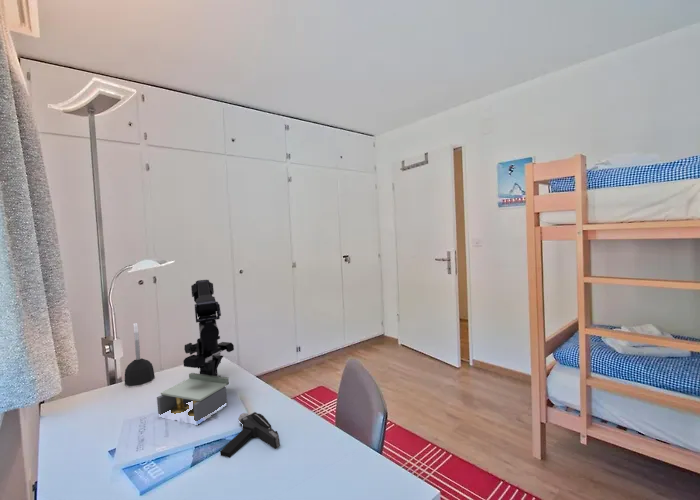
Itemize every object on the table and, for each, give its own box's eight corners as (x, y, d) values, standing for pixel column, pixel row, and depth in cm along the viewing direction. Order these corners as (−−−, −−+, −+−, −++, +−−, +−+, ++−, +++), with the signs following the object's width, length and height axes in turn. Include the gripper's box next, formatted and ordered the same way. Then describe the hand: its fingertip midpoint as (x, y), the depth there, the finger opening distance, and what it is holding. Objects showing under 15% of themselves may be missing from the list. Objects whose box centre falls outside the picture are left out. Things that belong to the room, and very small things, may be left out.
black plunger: (124, 381, 149) (119, 323, 148) (153, 374, 155) (149, 318, 154) (124, 390, 140) (119, 328, 138) (156, 382, 146) (151, 323, 144)
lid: (192, 378, 128) (191, 372, 128) (228, 384, 122) (228, 377, 122) (160, 394, 116) (160, 388, 116) (199, 401, 110) (199, 394, 110)
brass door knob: (181, 407, 121) (179, 389, 121) (193, 409, 119) (191, 391, 119) (167, 415, 116) (165, 396, 116) (179, 418, 114) (178, 398, 114)
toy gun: (232, 461, 88) (283, 430, 97) (202, 426, 103) (250, 403, 113) (235, 478, 88) (286, 445, 98) (205, 441, 104) (252, 416, 114)
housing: (190, 400, 127) (188, 381, 127) (227, 407, 121) (225, 386, 121) (158, 419, 115) (156, 397, 115) (197, 427, 109) (196, 404, 109)
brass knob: (197, 410, 118) (196, 391, 118) (210, 413, 116) (209, 393, 116) (184, 419, 113) (182, 399, 113) (197, 421, 111) (195, 401, 111)
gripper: (210, 326, 137) (213, 365, 138) (169, 341, 120) (173, 386, 120) (233, 327, 133) (236, 368, 133) (194, 343, 115) (198, 389, 116)
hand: (211, 377), depth 126 cm, fingers closed
